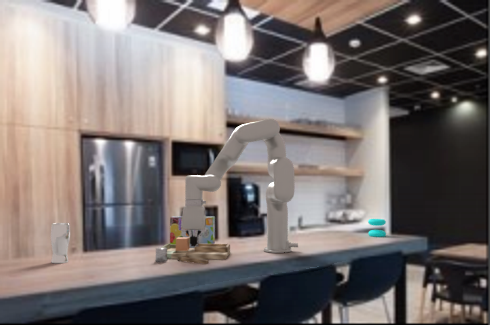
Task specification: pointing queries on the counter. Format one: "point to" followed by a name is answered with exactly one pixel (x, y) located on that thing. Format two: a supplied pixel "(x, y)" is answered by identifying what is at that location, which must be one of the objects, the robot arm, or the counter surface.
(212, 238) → the snack box
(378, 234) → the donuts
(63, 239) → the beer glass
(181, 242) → the cube
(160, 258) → the can
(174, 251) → the wooden tray
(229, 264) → the counter surface
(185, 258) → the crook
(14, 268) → the counter surface
